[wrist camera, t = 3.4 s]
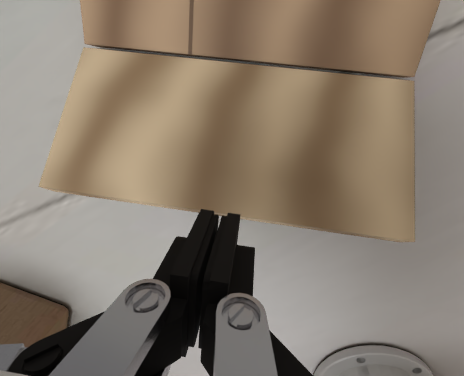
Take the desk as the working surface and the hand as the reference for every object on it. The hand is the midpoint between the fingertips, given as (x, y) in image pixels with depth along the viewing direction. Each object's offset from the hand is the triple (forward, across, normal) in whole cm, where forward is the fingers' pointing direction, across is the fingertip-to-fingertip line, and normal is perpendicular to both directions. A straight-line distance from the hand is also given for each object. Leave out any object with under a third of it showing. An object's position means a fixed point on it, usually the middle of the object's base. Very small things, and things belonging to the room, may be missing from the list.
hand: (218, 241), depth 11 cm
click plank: (+8, +1, -2) cm, 8 cm away
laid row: (+11, +1, -12) cm, 16 cm away
